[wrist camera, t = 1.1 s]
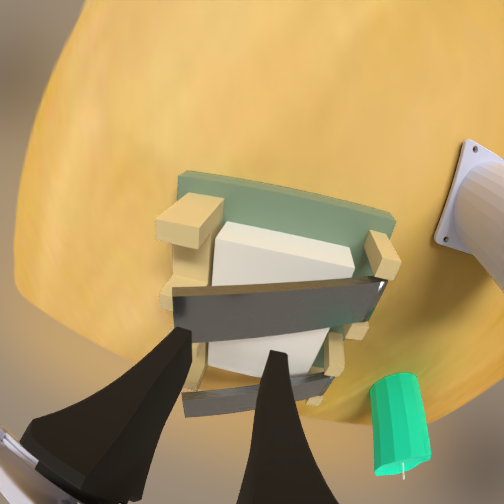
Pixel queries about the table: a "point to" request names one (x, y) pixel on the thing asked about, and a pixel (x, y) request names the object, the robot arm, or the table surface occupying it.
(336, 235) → the board
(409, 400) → the candle
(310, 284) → the strap near
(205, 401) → the strap far
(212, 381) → the table surface
